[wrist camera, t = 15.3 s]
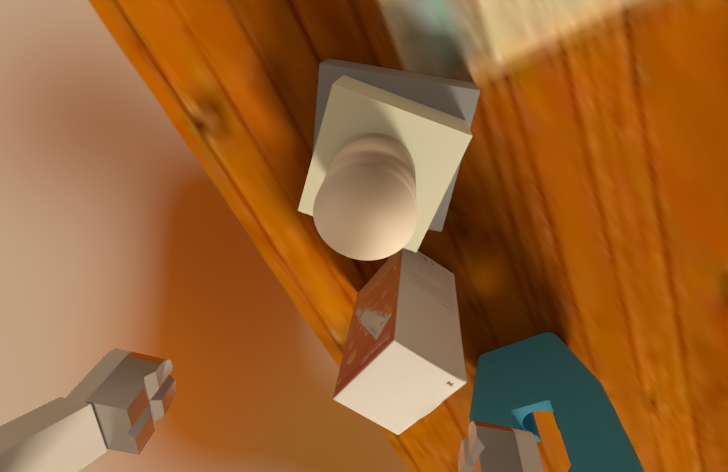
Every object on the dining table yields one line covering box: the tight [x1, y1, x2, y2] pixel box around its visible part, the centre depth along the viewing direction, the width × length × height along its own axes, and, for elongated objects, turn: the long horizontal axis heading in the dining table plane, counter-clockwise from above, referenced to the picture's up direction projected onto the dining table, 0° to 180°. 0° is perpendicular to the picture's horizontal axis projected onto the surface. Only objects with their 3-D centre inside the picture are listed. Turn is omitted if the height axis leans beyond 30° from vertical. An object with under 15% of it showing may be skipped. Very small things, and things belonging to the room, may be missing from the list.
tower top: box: [298, 75, 472, 253], centre depth 28 cm, size 9×9×4 cm
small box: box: [333, 248, 467, 435], centre depth 34 cm, size 8×6×13 cm
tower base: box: [312, 58, 480, 232], centre depth 31 cm, size 11×11×4 cm
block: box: [470, 332, 645, 472], centre depth 34 cm, size 12×5×20 cm, turn 124°
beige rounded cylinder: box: [313, 133, 417, 260], centre depth 24 cm, size 6×6×6 cm
